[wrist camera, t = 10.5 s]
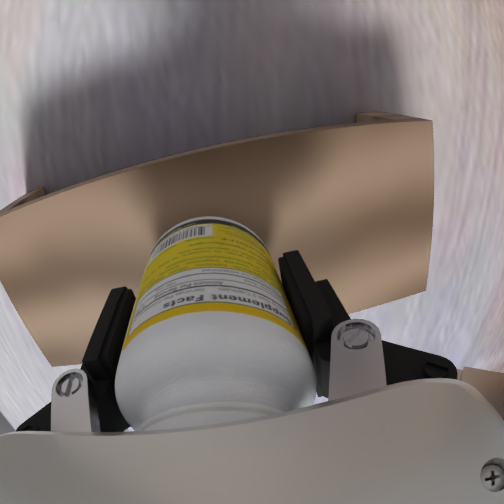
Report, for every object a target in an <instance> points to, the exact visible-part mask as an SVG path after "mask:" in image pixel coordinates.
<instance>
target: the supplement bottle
mask: <svg viewBox="0 0 504 504" xmlns="http://www.w3.org/2000/svg"><path fill="white" fill-rule="evenodd" d="M115 395H116V400H117V403H118V406H119V409H120V411H121V413H122V415H123V416H124V418H125V420H126V421H127V423H128V424H129V425H130V426H131V427H132V428H133V429H134V430H135V431H149V430H163V429H175V428H185V427H194V426H202V425H210V424H217V423H224V422H231V421H237V420H243V419H249V418H255V417H260V416H265V415H270V414H275V413H280V412H285V411H289V410H294V409H298V408H302V407H307V406H311V405H313V403H314V400H315V395H316V375H315V371H314V367H313V364H312V361H311V358H310V355H309V352H308V349H307V347H306V344H305V342H304V339H303V337H302V334H301V331H300V329H299V326H298V324H297V321H296V319H295V316H294V313H293V311H292V308H291V306H290V303H289V300H288V298H287V295H286V293H285V290H284V288H283V285H282V283H281V280H280V278H279V275H278V273H277V270H276V267H275V265H274V262H273V260H272V258H271V256H270V254H269V251H268V249H267V248H266V246H265V244H264V243H263V242H262V240H261V239H260V238H259V237H258V236H257V235H256V234H255V233H254V232H253V231H251V230H250V229H249V228H247V227H246V226H244V225H242V224H240V223H238V222H236V221H233V220H230V219H226V218H222V217H214V216H205V217H197V218H192V219H189V220H186V221H183V222H181V223H179V224H177V225H175V226H174V227H172V228H171V229H169V230H168V231H167V232H166V233H164V234H163V235H162V236H161V238H160V239H159V240H158V241H157V243H156V244H155V246H154V248H153V249H152V251H151V254H150V256H149V259H148V261H147V265H146V267H145V271H144V274H143V277H142V280H141V284H140V287H139V290H138V294H137V297H136V300H135V303H134V307H133V311H132V314H131V318H130V321H129V325H128V329H127V332H126V336H125V340H124V343H123V347H122V351H121V355H120V359H119V363H118V367H117V371H116V377H115Z"/></svg>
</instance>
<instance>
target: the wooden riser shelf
mask: <svg viewBox="0 0 504 504" xmlns="http://www.w3.org/2000/svg"><path fill="white" fill-rule="evenodd" d="M356 121H357V123H349V124H339V125H331V126H323V127H315V128H308V129H301V130H295V131H288V132H282V133H276V134H270V135H264V136H259V137H253V138H248V139H243V140H238V141H233V142H228V143H223V144H218V145H214V146H209V147H205V148H200V149H196V150H192V151H188V152H184V153H180V154H176V155H172V156H168V157H164V158H160V159H156V160H153V161H149V162H145V163H142V164H138V165H135V166H131V167H128V168H125V169H121V170H118V171H115V172H111V173H108V174H105V175H102V176H99V177H96V178H93V179H90V180H87V181H84V182H81V183H78V184H75V185H72V186H69V187H66V188H64V189H61V190H58V191H55V192H53V193H50V194H47V195H45V192H44V189H43V187H41V188H39V189H36V190H34V191H31V192H29V193H26V194H25V195H23V196H22V197H20V198H18V199H17V200H15V201H14V202H12V203H11V204H9V205H8V206H6V207H5V208H3V209H2V210H0V280H1V282H2V284H3V286H4V288H5V290H6V292H7V294H8V296H9V298H10V300H11V302H12V303H13V305H14V307H15V309H16V311H17V312H18V314H19V316H20V318H21V319H22V321H23V323H24V324H25V326H26V328H27V329H28V331H29V333H30V334H31V336H32V337H33V339H34V340H35V342H36V344H37V345H38V347H39V348H40V350H41V351H42V353H43V354H44V356H45V357H46V359H47V360H48V362H49V363H50V364H51V366H52V367H53V366H65V365H76V364H83V363H82V359H83V357H84V354H85V351H86V349H87V346H88V344H89V341H90V338H91V336H92V333H93V331H94V329H95V326H96V324H97V321H98V319H99V316H100V314H101V312H102V309H103V307H104V305H105V302H106V300H107V298H108V296H109V293H110V291H111V290H112V289H114V288H119V287H124V286H126V287H127V288H128V289H132V291H133V292H134V295H135V297H137V294H138V290H139V287H140V284H141V280H142V277H143V274H144V271H145V267H146V265H147V261H148V259H149V256H150V254H151V251H152V249H153V248H154V246H155V244H156V243H157V241H158V240H159V239H160V238H161V236H162V235H163V234H164V233H166V232H167V231H168V230H169V229H171V228H172V227H174V226H175V225H177V224H179V223H181V222H183V221H186V220H189V219H192V218H197V217H205V216H214V217H222V218H226V219H230V220H233V221H236V222H238V223H240V224H242V225H244V226H246V227H247V228H249V229H250V230H251V231H253V232H254V233H255V234H256V235H257V236H258V237H259V238H260V239H261V240H262V242H263V243H264V244H265V246H266V248H267V249H268V251H269V254H270V256H271V258H272V260H273V262H274V265H275V267H276V270H277V273H278V275H279V278H280V280H281V275H280V268H279V262H278V258H280V257H283V253H285V252H289V251H294V250H298V251H299V253H300V254H301V256H302V258H303V260H304V262H305V264H306V266H307V268H308V269H309V271H310V273H311V275H312V277H313V279H314V281H319V280H324V279H327V280H328V281H329V282H330V284H331V286H332V288H333V289H334V291H335V293H336V294H337V296H338V298H339V300H340V301H341V303H342V305H343V306H344V308H345V310H346V312H347V313H348V314H350V313H353V312H357V311H360V310H364V309H367V308H371V307H374V306H378V305H381V304H385V303H388V302H391V301H394V300H398V299H401V298H404V297H407V296H410V295H414V294H417V293H420V292H423V291H426V285H427V278H428V270H429V261H430V251H431V240H432V226H433V207H434V141H433V122H432V120H426V119H421V118H415V117H409V116H403V115H397V114H390V113H383V112H367V113H356ZM281 283H282V281H281Z"/></svg>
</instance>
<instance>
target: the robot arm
mask: <svg viewBox="0 0 504 504" xmlns="http://www.w3.org/2000/svg"><path fill="white" fill-rule="evenodd" d="M278 262H279V268H280V275H281V281H282V285H283V288H284V290H285V293H286V295H287V298H288V300H289V303H290V306H291V308H292V311H293V313H294V316H295V319H296V321H297V324H298V326H299V329H300V331H301V334H302V337H303V339H304V342H305V344H306V347H307V349H308V352H309V355H310V358H311V361H312V364H313V367H314V371H315V375H316V392H317V395H318V397H321V396H324V397H326V398H328V401H327V402H323V403H319V404H315V405H311V406H307V407H302V408H298V409H294V410H289V411H285V412H280V413H275V414H270V415H265V416H260V417H255V418H249V419H243V420H237V421H231V422H224V423H217V424H210V425H202V426H194V427H185V428H175V429H163V430H149V431H130V432H129V430H128V427H130V425H129V424H128V423H127V421H126V420H125V418H124V416H123V415H122V413H121V411H120V409H119V406H118V403H117V400H116V395H115V377H116V371H117V367H118V363H119V359H120V355H121V351H122V347H123V343H124V340H125V336H126V332H127V329H128V325H129V321H130V318H131V314H132V311H133V307H134V303H135V300H136V297H135V295H134V292H133V291H132V289H128V288H127V287H126V286H124V287H119V288H114V289H112V290H111V291H110V293H109V296H108V298H107V300H106V302H105V305H104V307H103V309H102V312H101V314H100V316H99V319H98V321H97V324H96V326H95V329H94V331H93V333H92V336H91V338H90V341H89V344H88V346H87V349H86V351H85V354H84V357H83V359H82V363H83V364H82V366H81V369H72V370H68V371H66V372H64V373H63V374H61V375H60V376H59V377H58V378H57V379H56V380H55V382H54V384H53V387H52V399H51V402H50V403H49V404H47V405H46V406H45V407H43V408H42V409H41V410H39V411H38V412H37V413H35V414H34V415H33V416H32V417H30V418H29V419H28V420H26V421H25V422H24V423H22V424H21V425H20V426H19V427H18V428H17V430H16V431H15V432H12V433H5V434H2V435H0V504H504V373H499V372H493V371H487V370H481V369H475V368H470V367H463V370H459V369H456V367H455V366H454V364H453V363H452V362H451V361H450V360H448V359H447V358H444V357H442V356H438V355H435V354H431V353H427V352H423V351H419V350H415V349H412V348H408V347H404V346H401V345H397V344H393V343H390V342H386V341H382V340H381V333H380V331H379V328H378V327H377V326H376V325H375V324H373V323H372V322H370V321H367V320H363V319H350V317H349V315H348V313H347V312H346V310H345V308H344V306H343V305H342V303H341V301H340V300H339V298H338V296H337V294H336V293H335V291H334V289H333V288H332V286H331V284H330V282H329V281H328V280H327V279H324V280H319V281H314V279H313V277H312V275H311V273H310V271H309V269H308V268H307V266H306V264H305V262H304V260H303V258H302V256H301V254H300V253H299V251H298V250H294V251H289V252H285V253H283V257H280V258H278Z"/></svg>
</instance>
